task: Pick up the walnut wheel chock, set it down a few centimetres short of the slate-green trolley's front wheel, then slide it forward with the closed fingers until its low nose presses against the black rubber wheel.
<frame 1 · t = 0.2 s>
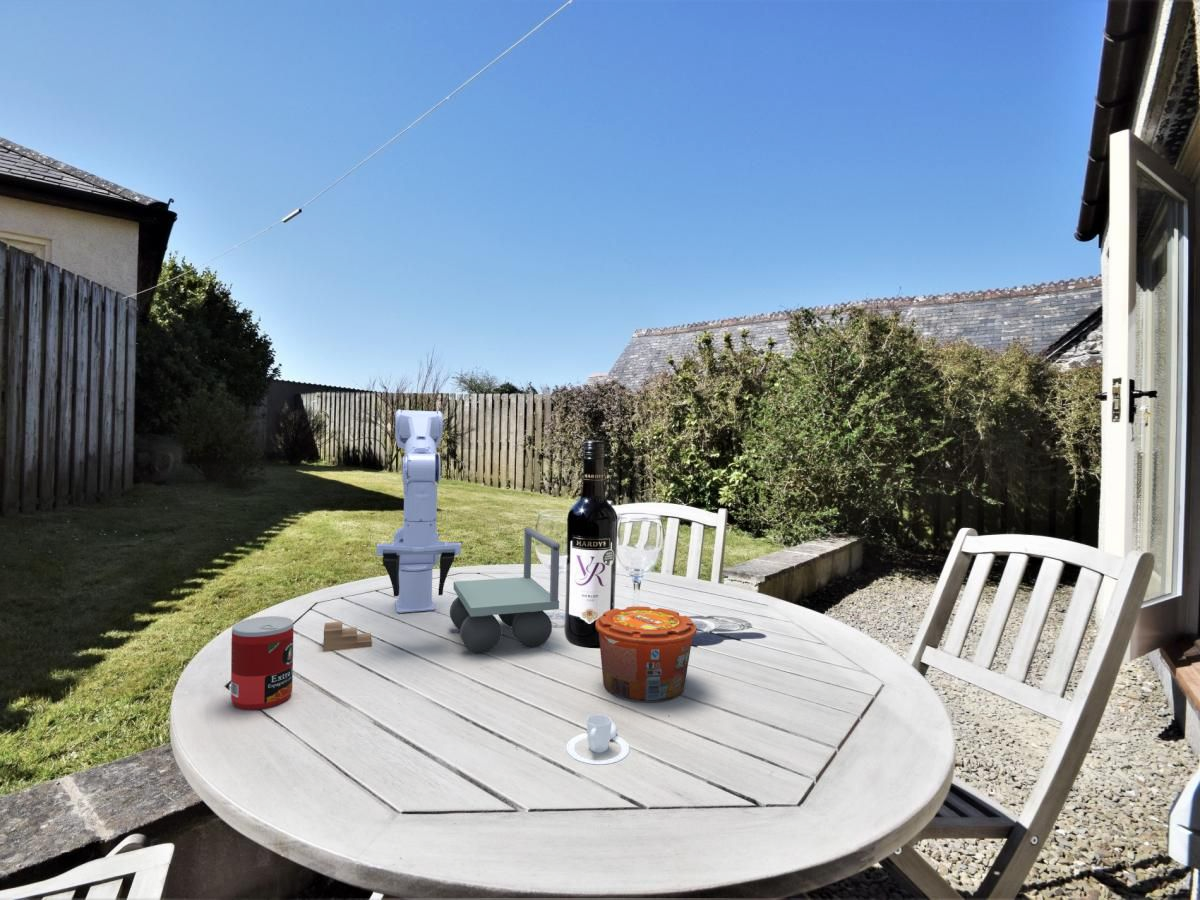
hand: (418, 594, 111), 10 cm above the table, tool pointing down, fingers open, 7 cm apart
food container: (643, 687, 97), on the table
chock: (347, 646, 113), on the table
teacup and saucer: (620, 750, 79), on the table
canned food: (262, 700, 89), on the table
trolley: (497, 637, 118), on the table
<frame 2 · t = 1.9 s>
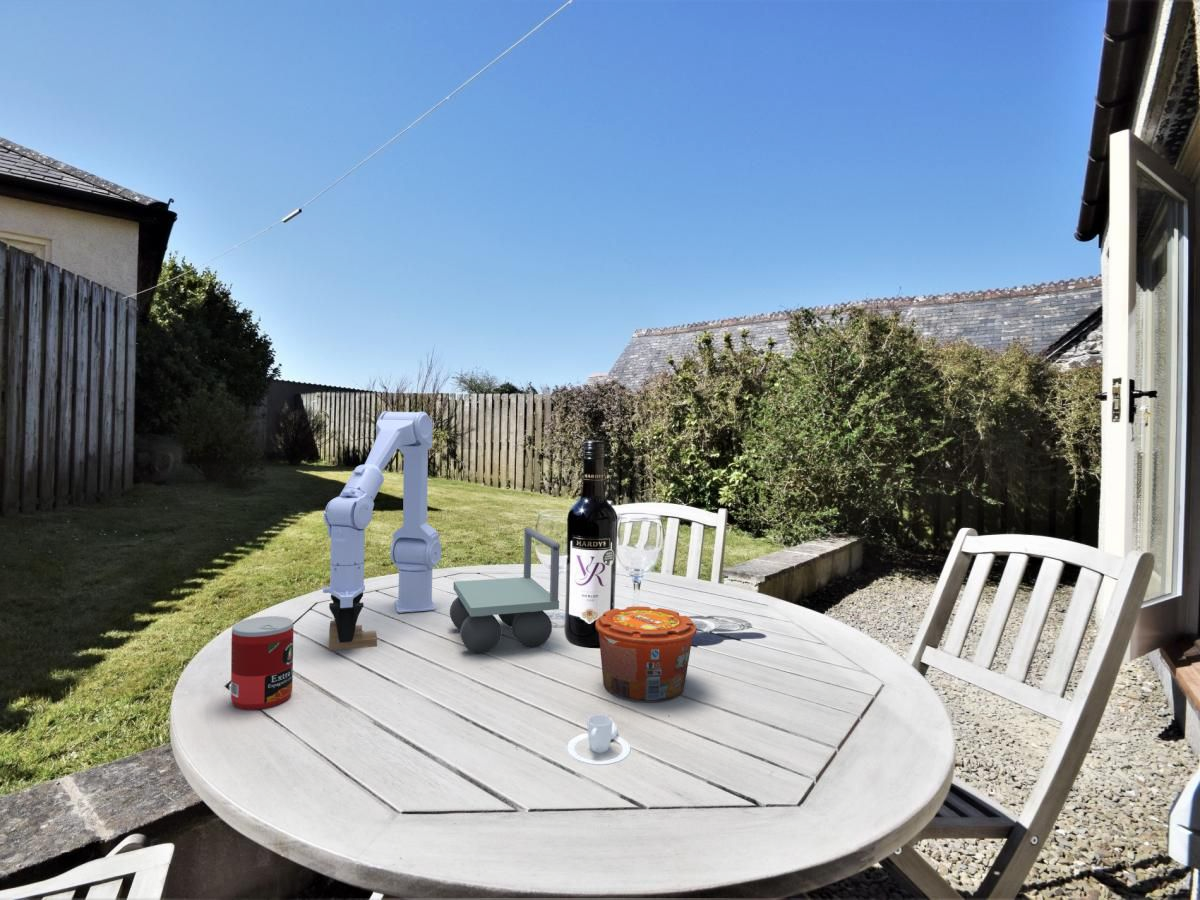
hand: (346, 636, 113), 1 cm above the table, tool pointing down, fingers closed on chock, 5 cm apart
chock: (353, 643, 113), on the table, touching gripper
everything else where it was.
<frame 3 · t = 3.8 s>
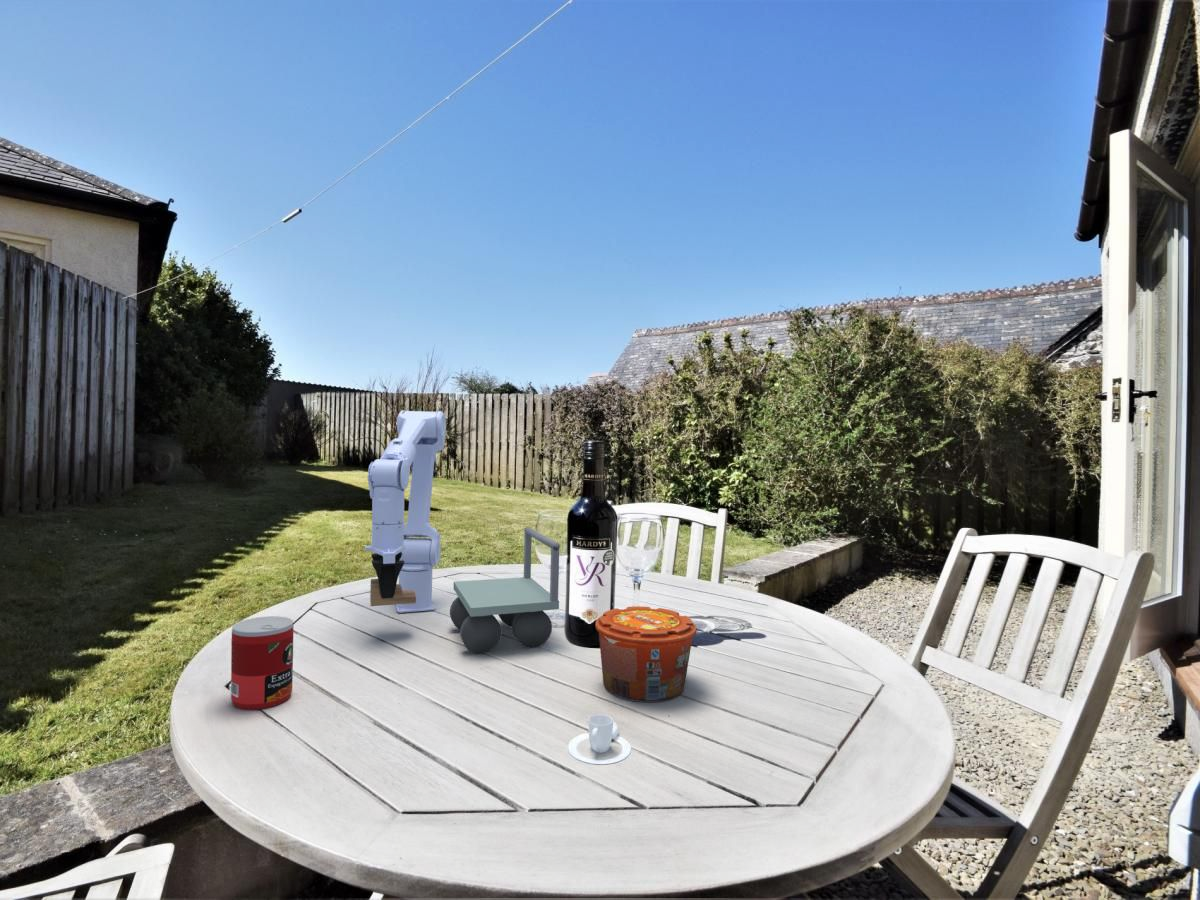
hand: (386, 593, 117), 8 cm above the table, tool pointing down, fingers closed on chock, 5 cm apart
chock: (392, 601, 117), point 7 cm above the table, touching gripper
everything else where it was.
when the fingers open (2 cm above the table, at t = 5.5 s): chock drops 1 cm, on the table.
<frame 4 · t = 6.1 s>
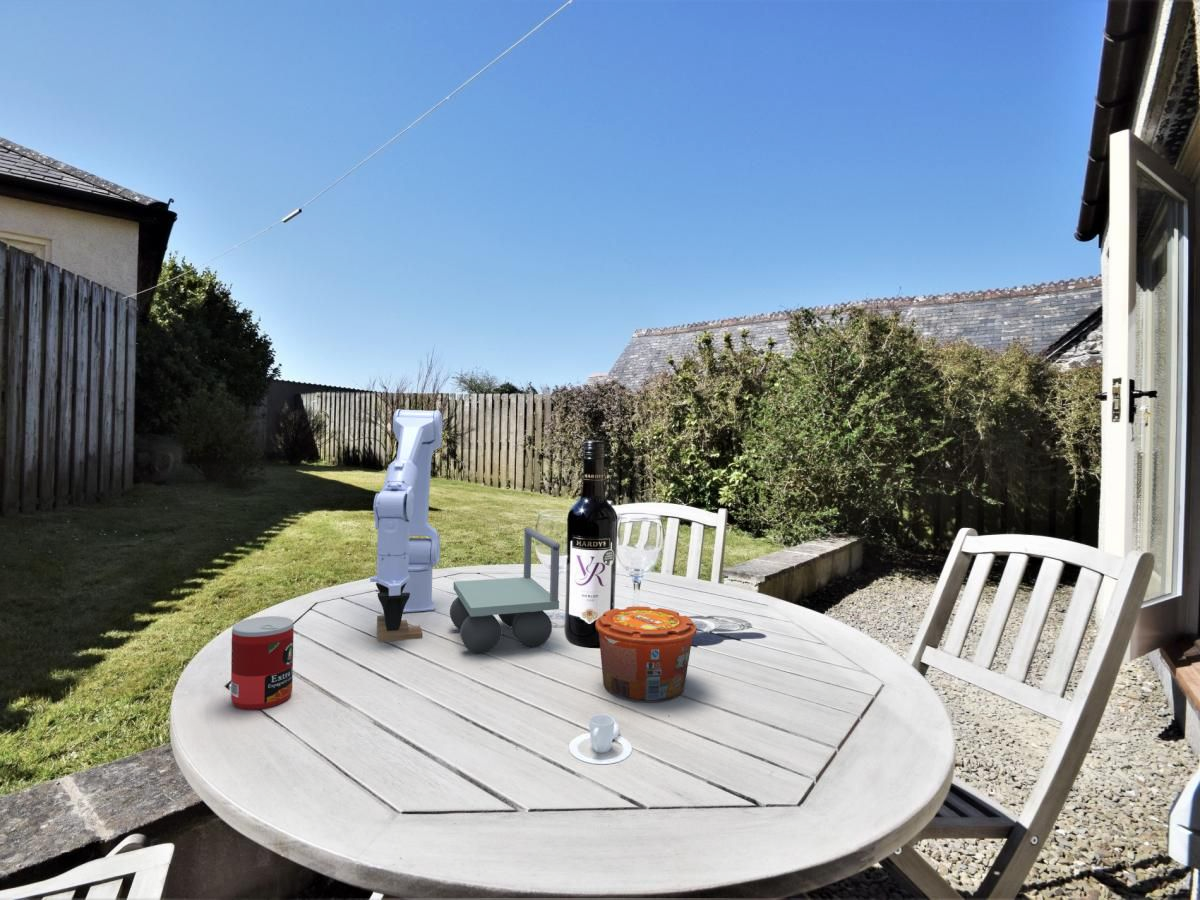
hand: (391, 624, 117), 2 cm above the table, tool pointing down, fingers open, 7 cm apart
chock: (399, 637, 118), on the table
everything else where it was.
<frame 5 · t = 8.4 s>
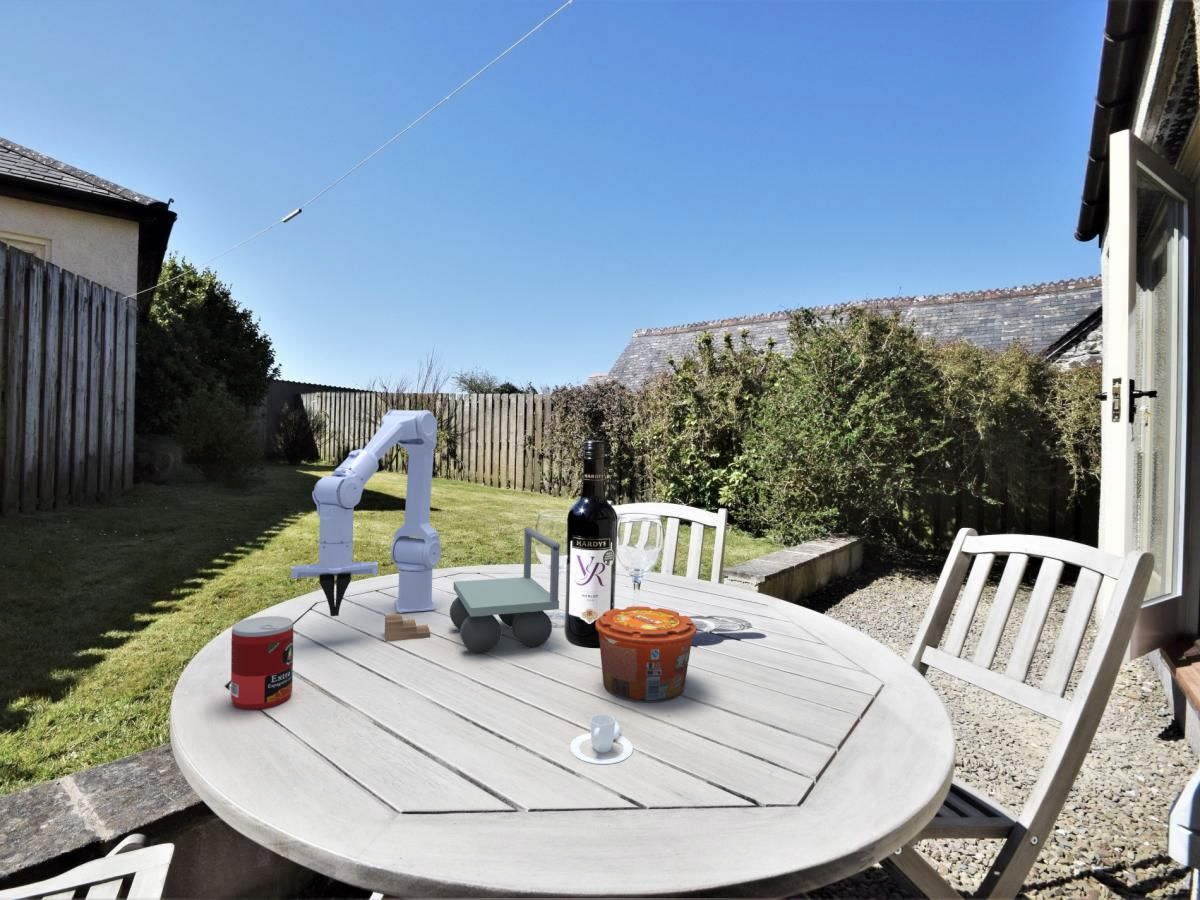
hand: (334, 614, 114), 5 cm above the table, tool pointing down, fingers closed
chock: (407, 636, 119), on the table
everything else where it was.
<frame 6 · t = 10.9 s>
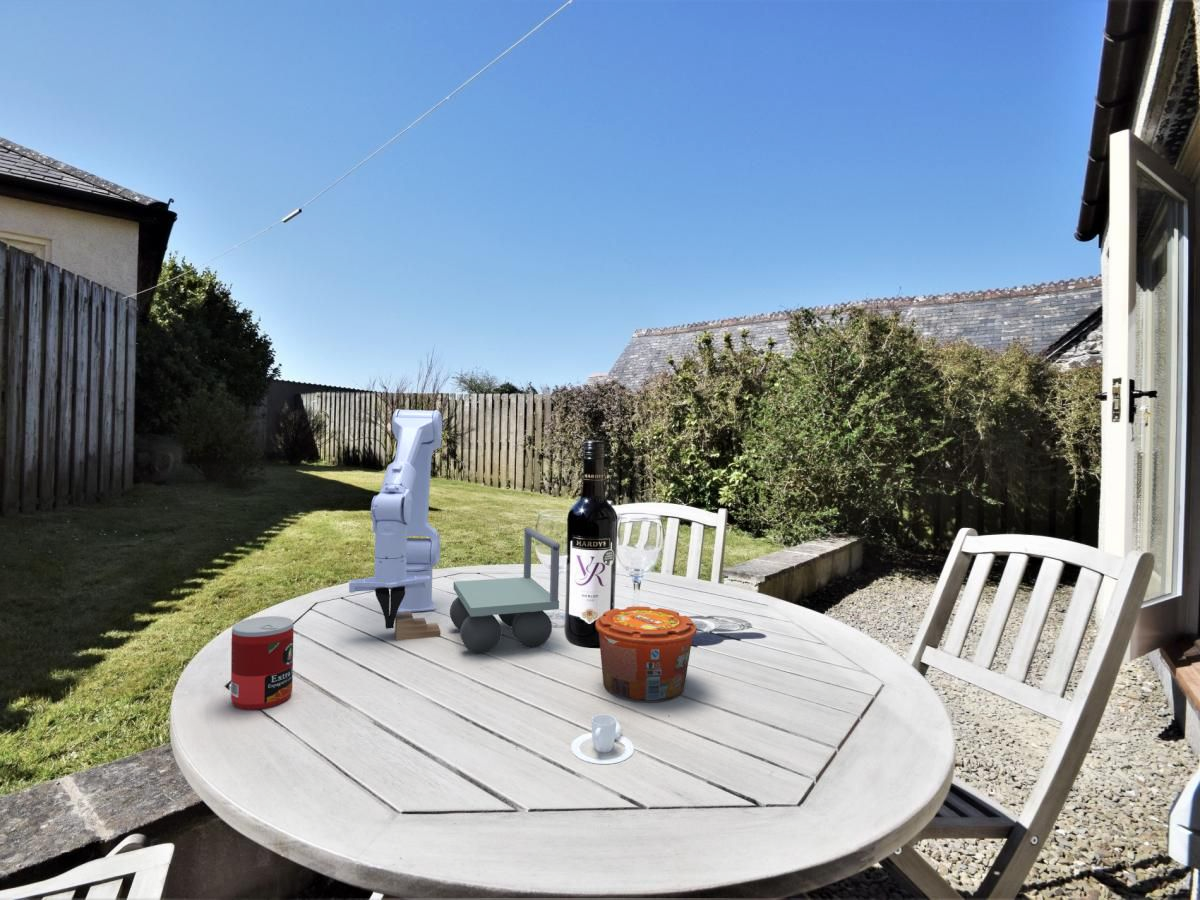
hand: (389, 627, 117), 2 cm above the table, tool pointing down, fingers closed
chock: (417, 635, 119), on the table, touching gripper
everything else where it was.
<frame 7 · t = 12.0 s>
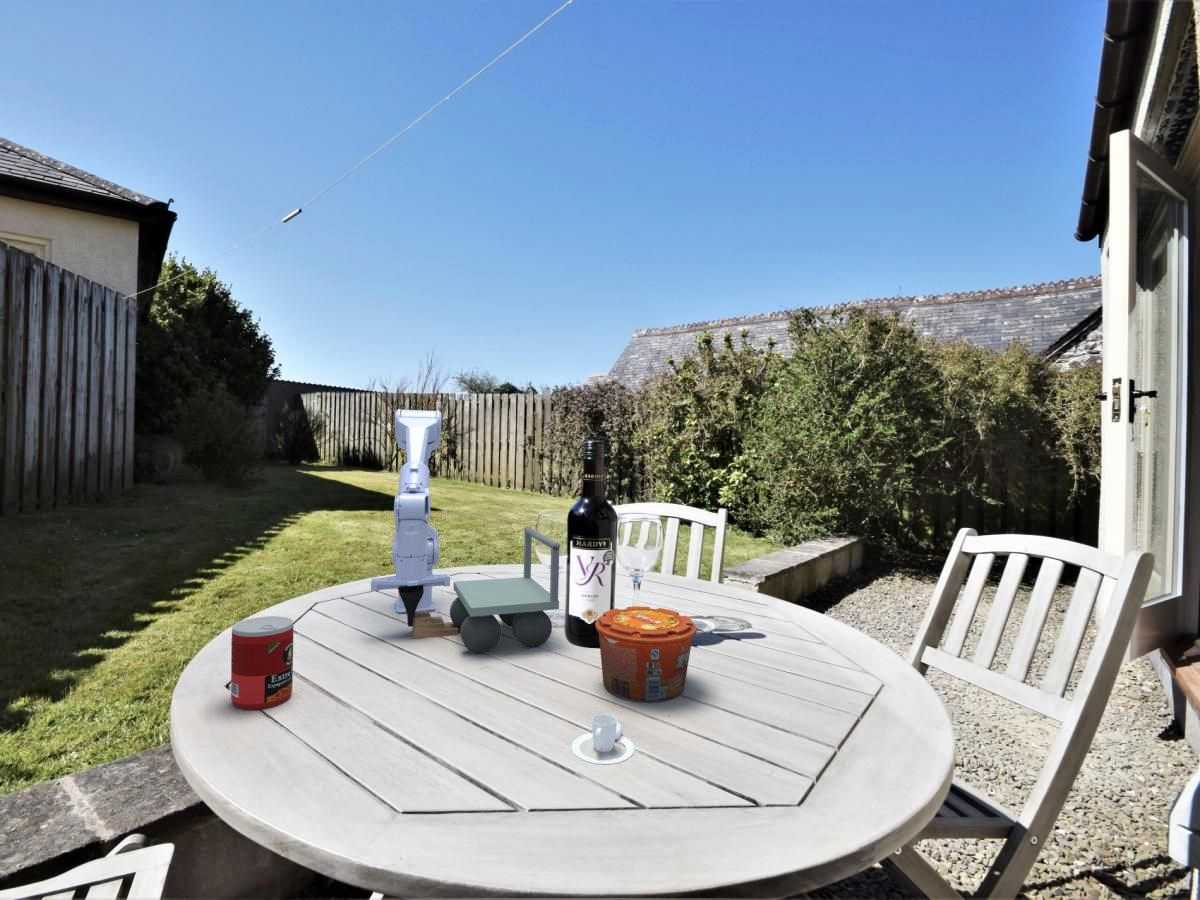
hand: (410, 625, 119), 2 cm above the table, tool pointing down, fingers closed
chock: (434, 633, 120), on the table, touching gripper, trolley
everything else where it was.
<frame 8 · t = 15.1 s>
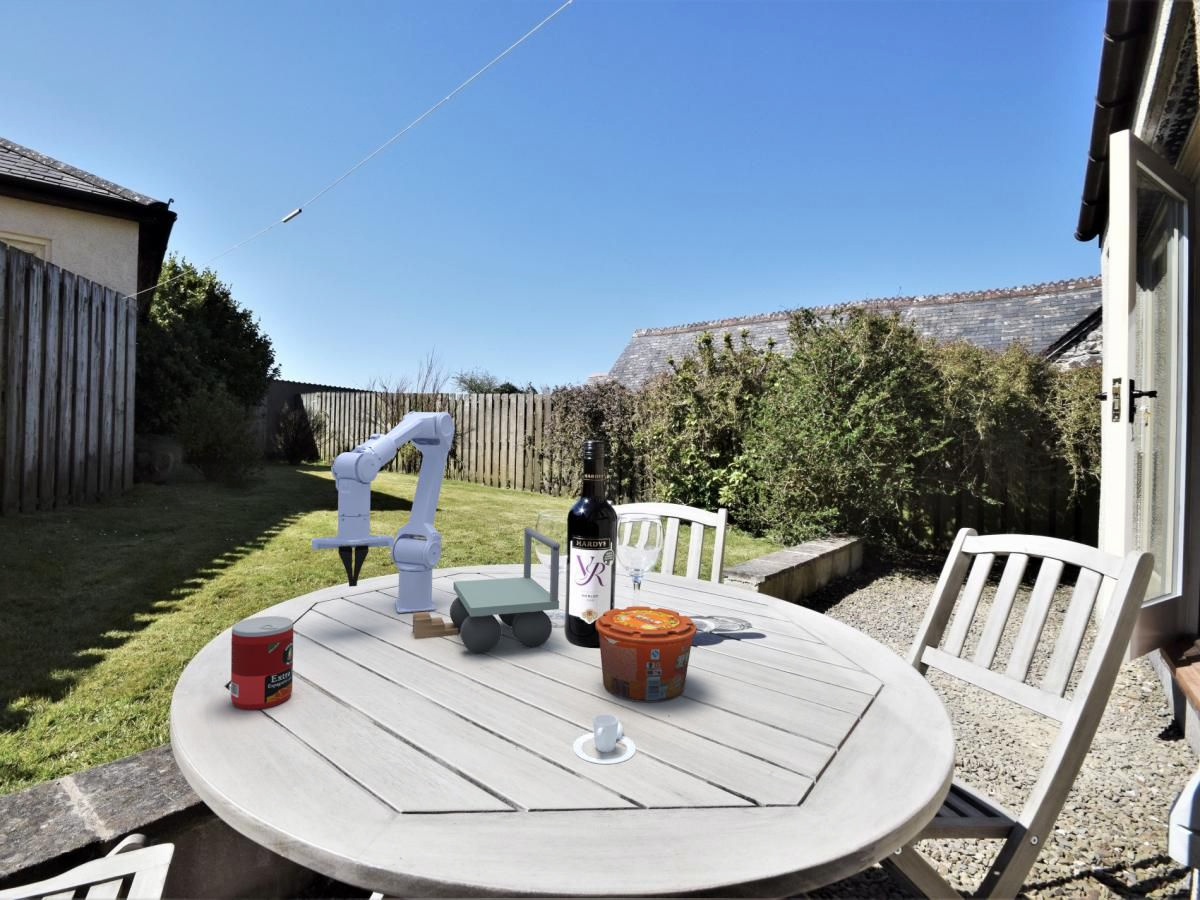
hand: (352, 585, 118), 9 cm above the table, tool pointing down, fingers closed
chock: (435, 634, 120), on the table
everything else where it was.
at the end: chock 0.6 cm from the target spot, on the table; chock tilted 0°; the gripper is holding nothing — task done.
